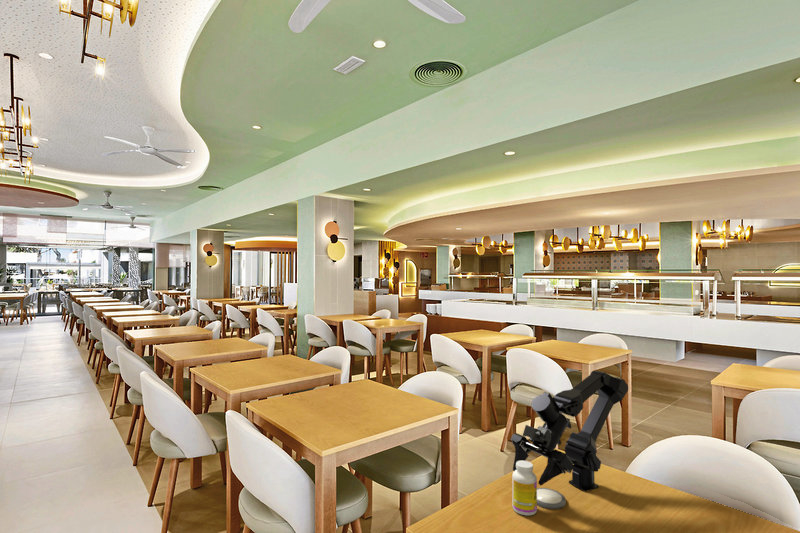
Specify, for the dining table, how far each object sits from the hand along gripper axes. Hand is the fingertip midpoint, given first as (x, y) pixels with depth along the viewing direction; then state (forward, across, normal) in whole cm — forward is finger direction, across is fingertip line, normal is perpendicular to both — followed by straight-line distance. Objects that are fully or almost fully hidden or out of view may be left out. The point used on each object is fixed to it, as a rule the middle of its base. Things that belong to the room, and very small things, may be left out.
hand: (526, 477), depth 117 cm
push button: (0, 0, +13) cm, 13 cm away
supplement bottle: (+7, 0, +6) cm, 9 cm away
